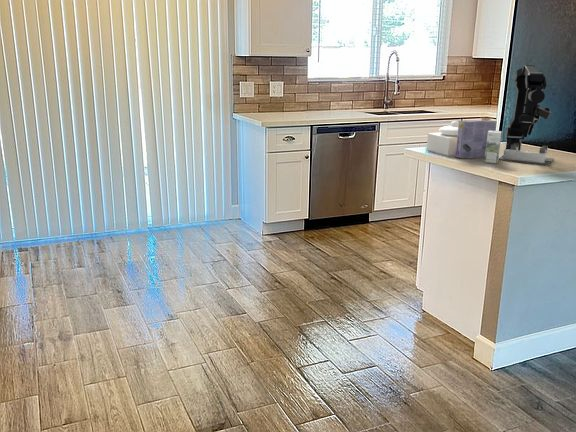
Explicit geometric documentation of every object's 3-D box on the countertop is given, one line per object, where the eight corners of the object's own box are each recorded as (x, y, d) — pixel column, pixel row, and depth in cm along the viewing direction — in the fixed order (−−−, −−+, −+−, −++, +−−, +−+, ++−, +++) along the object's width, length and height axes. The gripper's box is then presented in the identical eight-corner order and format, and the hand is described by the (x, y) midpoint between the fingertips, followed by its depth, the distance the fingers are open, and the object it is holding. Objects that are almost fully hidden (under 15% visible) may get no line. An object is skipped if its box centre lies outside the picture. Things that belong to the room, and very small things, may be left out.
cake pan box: (488, 155, 273) (492, 119, 267) (494, 157, 268) (499, 120, 263) (454, 157, 267) (457, 120, 262) (460, 159, 263) (463, 121, 258)
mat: (497, 160, 261) (497, 158, 261) (501, 157, 267) (501, 156, 267) (548, 165, 250) (548, 164, 250) (550, 163, 255) (550, 161, 255)
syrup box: (498, 162, 257) (502, 130, 253) (497, 164, 252) (501, 132, 247) (485, 160, 259) (489, 129, 255) (484, 163, 254) (487, 131, 250)
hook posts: (501, 157, 268) (503, 144, 266) (505, 155, 274) (507, 142, 272) (550, 162, 256) (553, 149, 254) (553, 160, 263) (555, 146, 261)
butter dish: (447, 156, 270) (451, 123, 266) (425, 150, 286) (428, 119, 282) (476, 154, 277) (480, 122, 272) (453, 148, 292) (456, 118, 288)
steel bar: (503, 158, 261) (504, 150, 260) (505, 157, 264) (506, 149, 263) (544, 163, 252) (545, 154, 251) (545, 161, 255) (546, 153, 254)
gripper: (547, 103, 239) (542, 140, 243) (554, 101, 254) (549, 135, 258) (520, 102, 244) (516, 137, 249) (528, 99, 259) (524, 133, 264)
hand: (527, 136), depth 255 cm, fingers open, 9 cm apart
